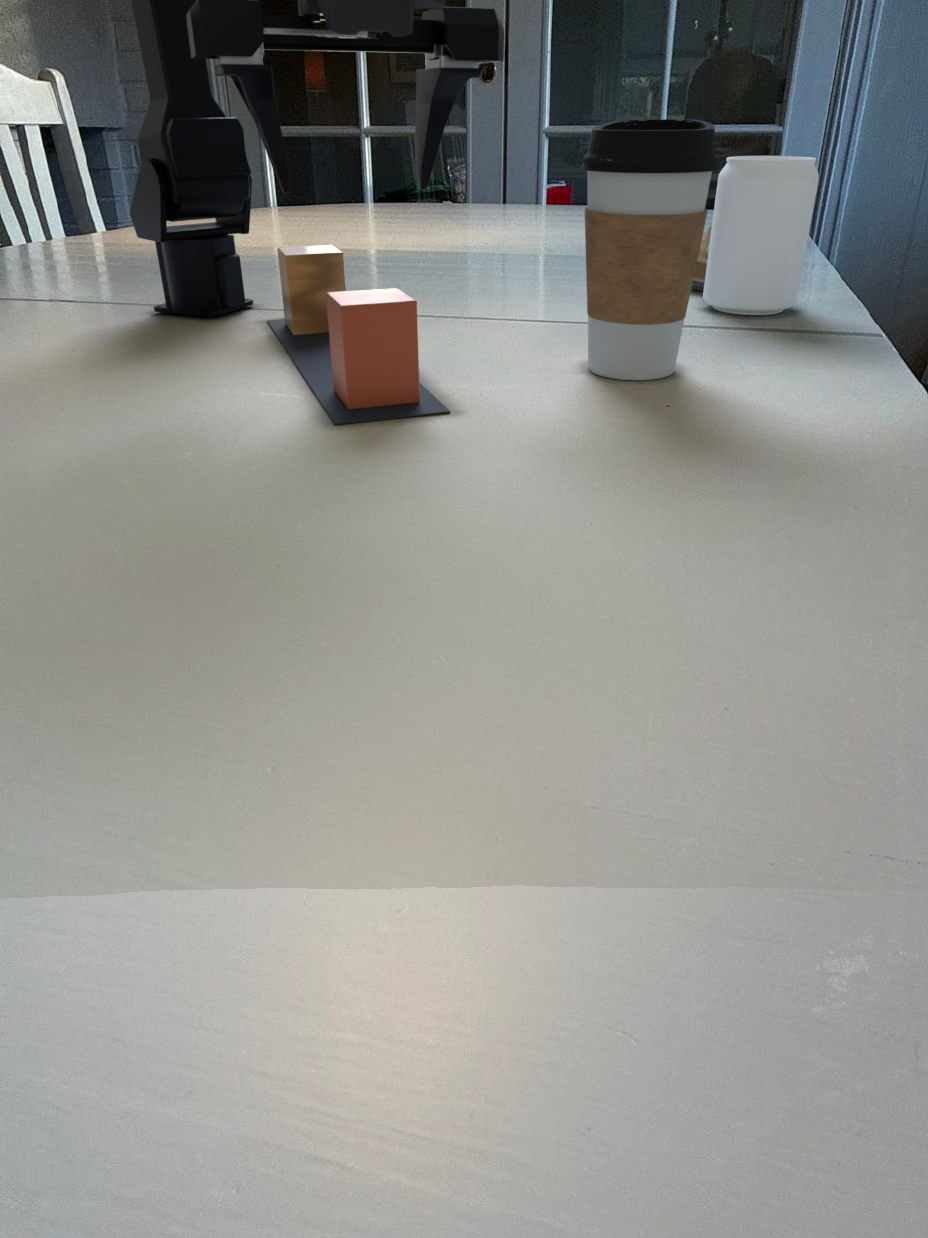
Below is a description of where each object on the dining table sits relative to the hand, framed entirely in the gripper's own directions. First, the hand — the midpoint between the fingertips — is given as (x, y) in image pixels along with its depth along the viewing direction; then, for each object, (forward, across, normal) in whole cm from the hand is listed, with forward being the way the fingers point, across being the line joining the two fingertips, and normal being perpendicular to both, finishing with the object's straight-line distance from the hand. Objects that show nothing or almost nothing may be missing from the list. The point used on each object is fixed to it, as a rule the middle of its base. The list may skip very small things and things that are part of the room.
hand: (355, 190), depth 58 cm
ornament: (+11, +40, +16) cm, 44 cm away
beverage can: (+11, +37, +7) cm, 39 cm away
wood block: (+11, -2, +11) cm, 16 cm away
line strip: (+11, -2, 0) cm, 11 cm away
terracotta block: (+11, -1, -10) cm, 15 cm away
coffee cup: (+11, +17, -9) cm, 22 cm away
